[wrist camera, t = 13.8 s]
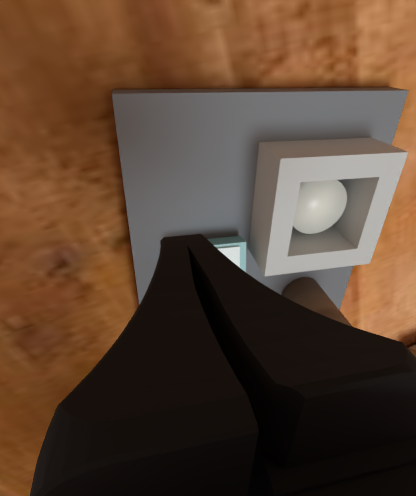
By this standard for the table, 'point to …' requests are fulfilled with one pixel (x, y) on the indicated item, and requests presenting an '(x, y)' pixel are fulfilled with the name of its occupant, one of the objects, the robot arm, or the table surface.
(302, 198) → the cream smooth round part
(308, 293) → the dowel
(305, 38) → the table surface
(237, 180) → the panel
